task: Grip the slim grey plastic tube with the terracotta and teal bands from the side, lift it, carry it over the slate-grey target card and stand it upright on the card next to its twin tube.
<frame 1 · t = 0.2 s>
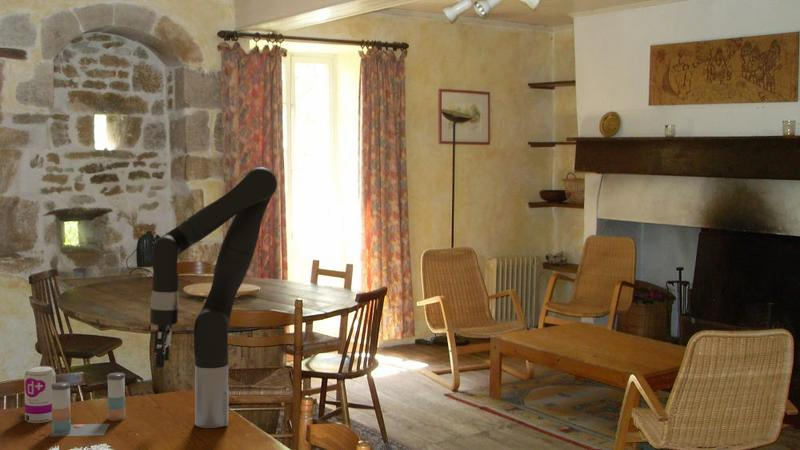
hand: (162, 363, 257), 18 cm above the table, tool pointing down, fingers open, 8 cm apart
condiment: (50, 409, 272), on the table
supplement can: (40, 421, 260), on the table
slim tube: (116, 420, 262), on the table
twin tube: (61, 432, 248), point 1 cm above the table, touching slate card
slate card: (80, 432, 251), on the table
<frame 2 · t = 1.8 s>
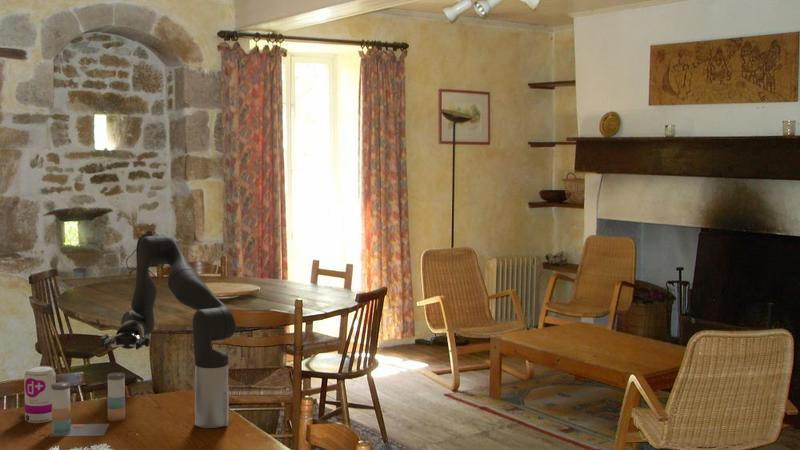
hand: (122, 346, 271), 19 cm above the table, tool horizontal, fingers open, 8 cm apart
nothing on the table moved.
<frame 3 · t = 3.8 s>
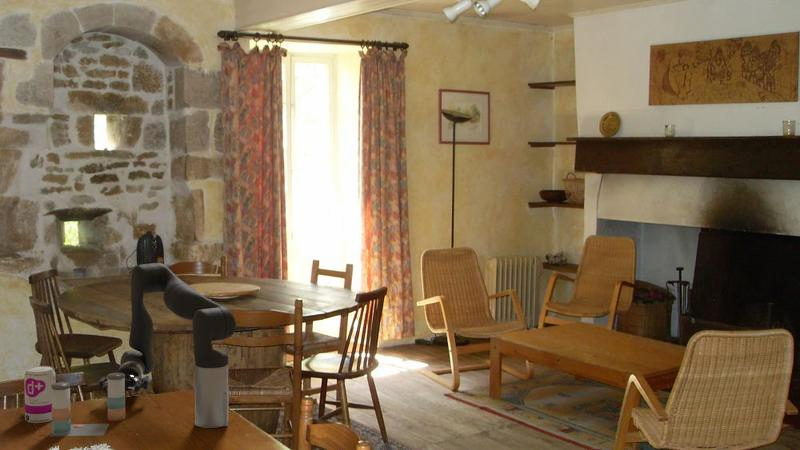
hand: (120, 389, 268), 7 cm above the table, tool horizontal, fingers open, 8 cm apart
nothing on the table moved.
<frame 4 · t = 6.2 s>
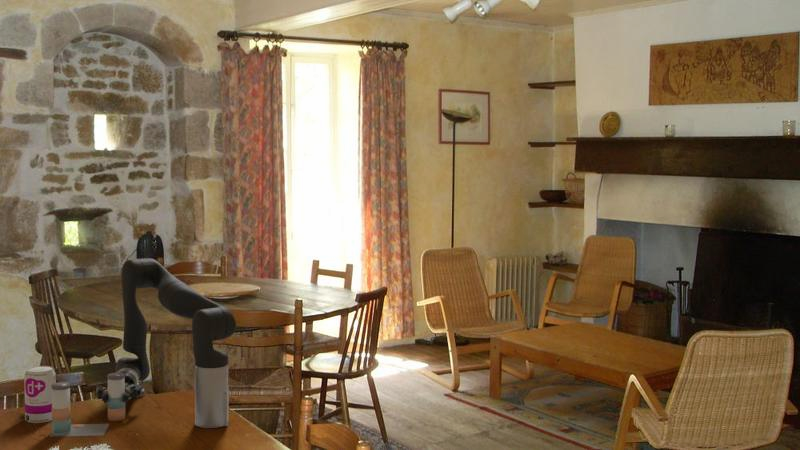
hand: (114, 398, 258), 7 cm above the table, tool horizontal, fingers closed on slim tube, 4 cm apart
slim tube: (116, 420, 262), on the table, touching gripper
everything else where it was.
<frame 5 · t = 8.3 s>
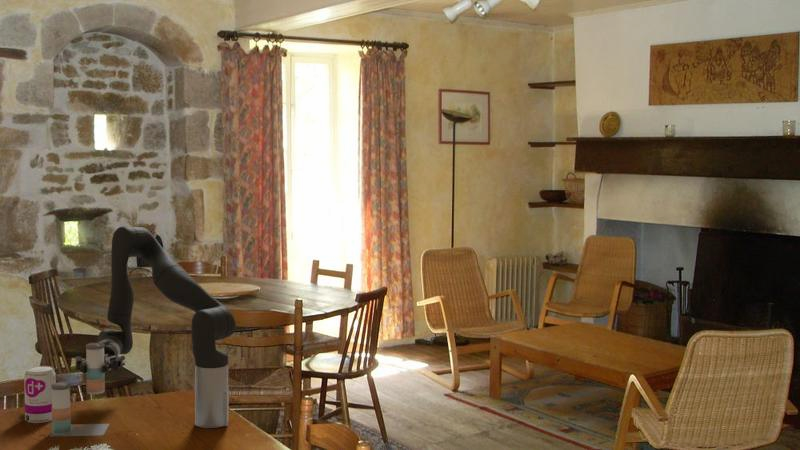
hand: (93, 369, 248), 18 cm above the table, tool horizontal, fingers closed on slim tube, 4 cm apart
slim tube: (95, 392, 251), point 11 cm above the table, touching gripper
everything else where it was.
when the fingers open (9 cm above the table, at t = 10.4 s): slim tube stays where it is, resting on slate card.
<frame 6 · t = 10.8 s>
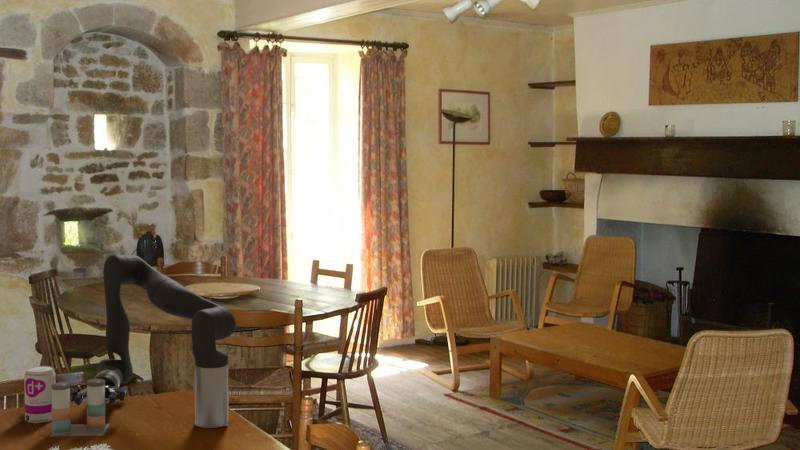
hand: (94, 401, 250), 9 cm above the table, tool horizontal, fingers open, 8 cm apart
slim tube: (96, 428, 252), point 1 cm above the table, touching slate card
everything else where it was.
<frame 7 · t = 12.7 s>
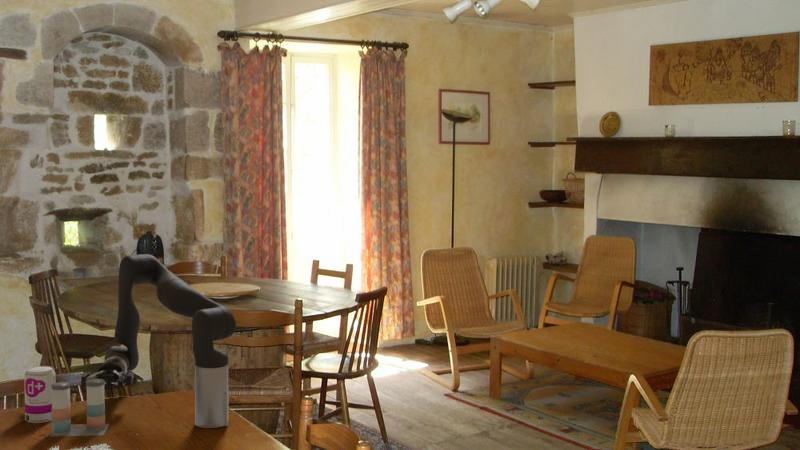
hand: (103, 384, 262), 10 cm above the table, tool horizontal, fingers open, 8 cm apart
nothing on the table moved.
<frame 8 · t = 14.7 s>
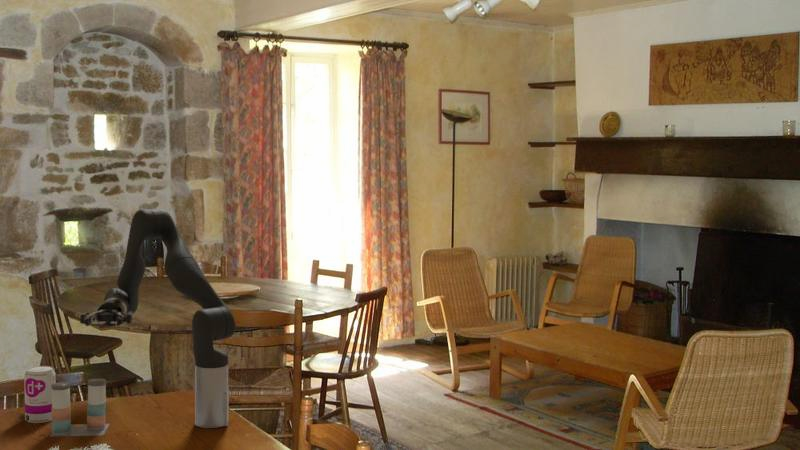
hand: (102, 322, 261), 28 cm above the table, tool horizontal, fingers open, 8 cm apart
nothing on the table moved.
at the end: slim tube inside the target area on the slate card (4.1 cm from its centre), point 0.7 cm above the slate card's base; slim tube tilted 1°; the gripper is holding nothing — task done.
